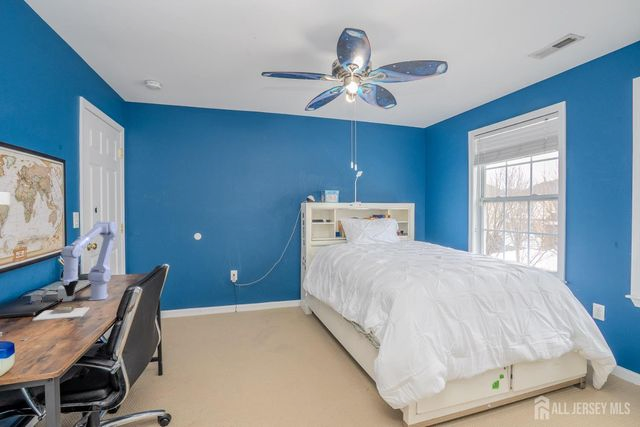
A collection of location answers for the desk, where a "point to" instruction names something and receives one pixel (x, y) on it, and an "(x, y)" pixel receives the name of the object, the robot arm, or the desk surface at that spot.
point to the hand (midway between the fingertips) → (69, 296)
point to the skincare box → (64, 294)
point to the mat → (61, 314)
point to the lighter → (39, 297)
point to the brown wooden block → (65, 308)
